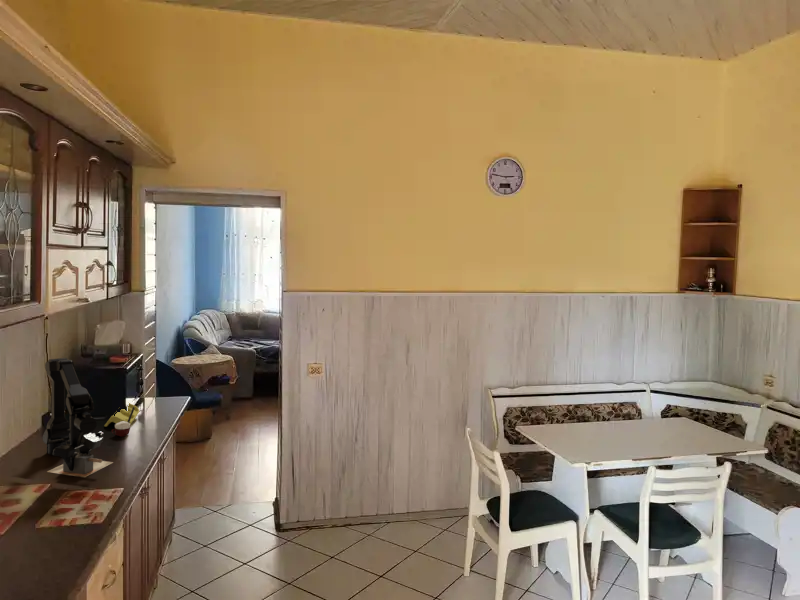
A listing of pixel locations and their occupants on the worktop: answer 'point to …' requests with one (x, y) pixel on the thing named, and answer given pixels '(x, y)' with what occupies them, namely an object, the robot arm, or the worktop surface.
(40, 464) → the worktop surface
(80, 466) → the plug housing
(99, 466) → the birch board
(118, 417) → the plastic component
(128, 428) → the cocoa
